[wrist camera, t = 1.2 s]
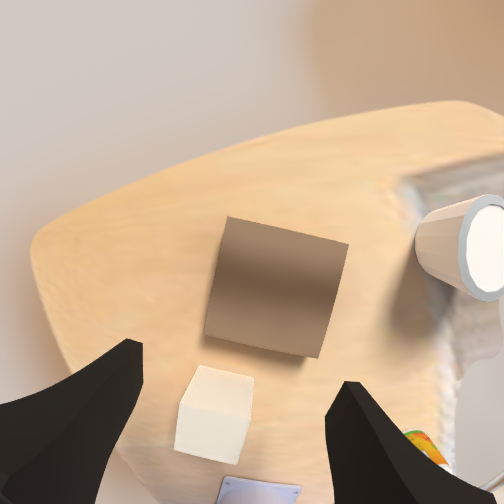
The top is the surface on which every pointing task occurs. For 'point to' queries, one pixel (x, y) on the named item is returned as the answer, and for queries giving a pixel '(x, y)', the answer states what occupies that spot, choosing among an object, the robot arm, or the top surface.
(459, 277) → the white cup
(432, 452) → the supplement bottle
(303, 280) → the walnut block
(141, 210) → the top surface
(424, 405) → the top surface
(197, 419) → the cream block
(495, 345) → the top surface
